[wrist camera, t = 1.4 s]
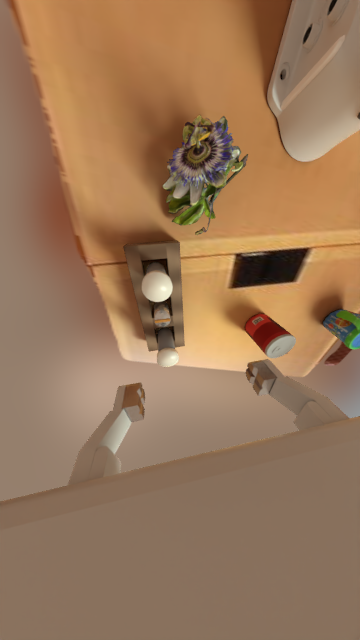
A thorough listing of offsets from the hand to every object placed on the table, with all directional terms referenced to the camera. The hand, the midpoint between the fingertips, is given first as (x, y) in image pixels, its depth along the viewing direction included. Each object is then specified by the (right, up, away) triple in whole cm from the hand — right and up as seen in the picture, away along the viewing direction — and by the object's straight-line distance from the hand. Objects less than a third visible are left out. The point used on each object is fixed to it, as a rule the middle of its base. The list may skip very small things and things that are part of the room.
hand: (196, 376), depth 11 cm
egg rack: (-6, +9, +26) cm, 28 cm away
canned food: (+23, +3, +35) cm, 42 cm away
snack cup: (+52, +5, +40) cm, 66 cm away
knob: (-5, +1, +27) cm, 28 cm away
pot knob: (-6, +7, +23) cm, 25 cm away
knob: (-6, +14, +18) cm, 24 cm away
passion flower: (+1, +28, +15) cm, 32 cm away
